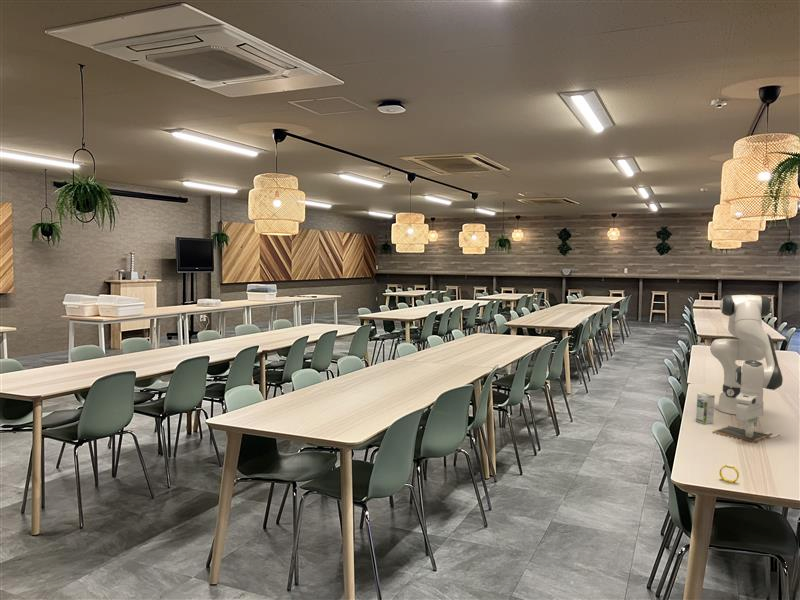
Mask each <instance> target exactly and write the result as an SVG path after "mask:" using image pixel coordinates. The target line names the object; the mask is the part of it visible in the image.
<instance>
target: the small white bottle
mask: <svg viewBox="0 0 800 600" xmlns="http://www.w3.org/2000/svg"><path fill="white" fill-rule="evenodd" d="M754 421H755V420H754V419H750V420H748V422H747V426H748V429H747V430H745V435H746V437H748V438H752V436H753V433H754V430H755V427H754Z"/></svg>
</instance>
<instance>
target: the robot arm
mask: <svg viewBox="0 0 800 600" xmlns="http://www.w3.org/2000/svg"><path fill="white" fill-rule="evenodd" d="M772 305H773V304H772V302H771V298H770V297H769V296H766V295H755V294H736V295H732V294H729V295H724V296H723V297H722V298H721V300H720V303H719V309H720V311H721V313H722V314H723V315H724V316H726V317H727V316H728V326H727V330H728V332H729V334H730V335H731V336H732V337H734V338H718V339H717V338H716V339H714V340H713V341H711V344H710V345H709V347H710V349H709V350H710V353H711V355H712V356H713V357H714V358H715V359H717V360H718V362H719V363H720V364H721V366H722V369H723V385H722V387H721V388H722V392H721V393H719V398H718V405H715V410H718V411H720V412H721V413H726V414H729V415H735V416H736V419H737V420H738V421H740V423H741V429H744V430H747V429H748V426H747V422H748V420H750V419H754V420H755V421H754V428H755V427H757V425H758V421H759V419H760V418H759V417H762V416H763V415H764V410H765V409H764V389H766V390H771V391H775V390H777V389H778V388H780V387H781V386H782V385H783V380H784V378H783V374H782V370H781V368H780V365H779V362H778V357H777V354H776V350H775V349H776V348H775V345H774V342H773V339H772V337H771V335H770V334H769V333H767V332H766V331H765V330H764V328H763V322H762V318H763V317H768V316H769V315H770V313H771V310H772V309H773V306H772ZM764 359H765V362H766V366H764V364H763V363H762V362H760V361H762V360H764ZM736 361H743V364H742V365H738V364H737V363H736Z"/></svg>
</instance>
